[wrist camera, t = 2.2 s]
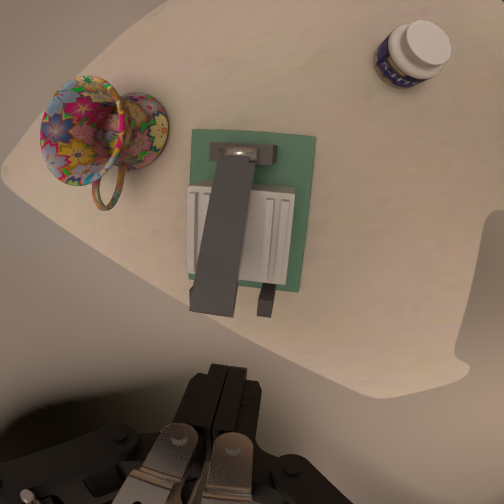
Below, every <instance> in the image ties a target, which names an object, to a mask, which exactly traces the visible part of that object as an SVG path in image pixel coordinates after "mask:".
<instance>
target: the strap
mask: <svg viewBox="0 0 504 504" xmlns="http://www.w3.org/2000/svg"><path fill="white" fill-rule="evenodd" d="M219 157H220V159H225V160H224V161H217V166H216V170H215V175H214V179H213V184H212V189H211V194H210V199H209V204H208V209H207V214H206V219H205V224H204V229H203V234H202V239H201V245H200V250H199V256H198V261H197V267H196V272H195V278H194V284H193V290H192V296H191V302H190V309H189V310H190V311H192V312H198V313H205V314H212V315H218V316H225V317H232V318H233V316H234V309H235V302H236V295H237V289H238V282H239V275H240V268H241V261H242V255H243V248H244V241H245V235H246V228H247V221H248V215H249V208H250V201H251V195H252V188H253V182H254V175H255V169H256V167H255V163H250V160H251V161H257V158H258V148H251V147H234V146H220V150H219Z"/></svg>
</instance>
